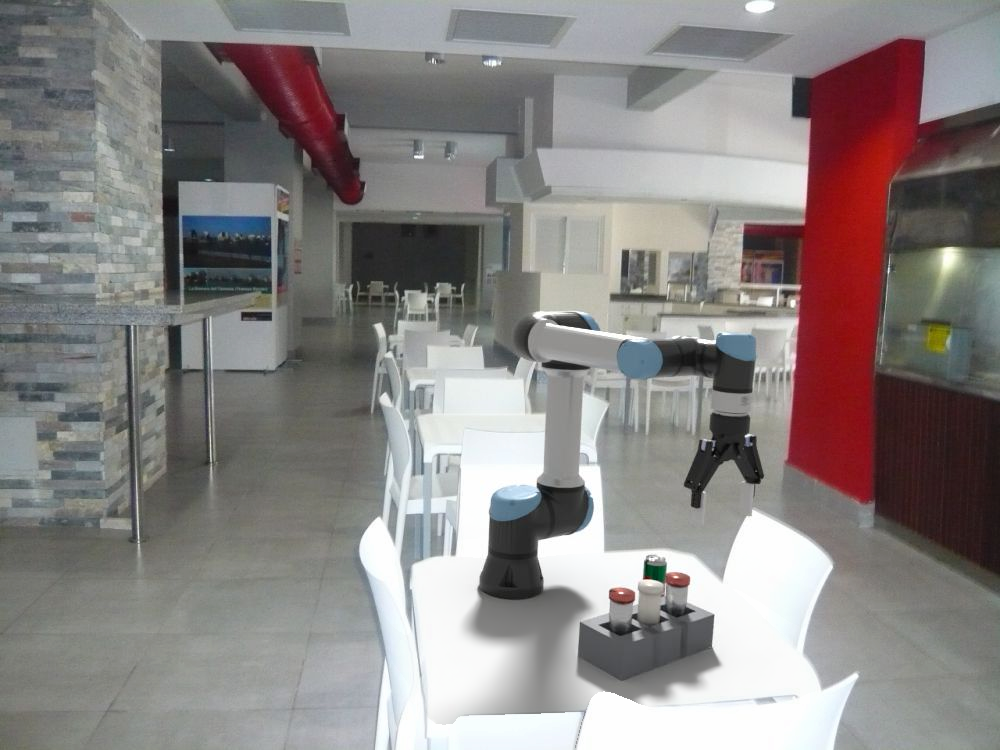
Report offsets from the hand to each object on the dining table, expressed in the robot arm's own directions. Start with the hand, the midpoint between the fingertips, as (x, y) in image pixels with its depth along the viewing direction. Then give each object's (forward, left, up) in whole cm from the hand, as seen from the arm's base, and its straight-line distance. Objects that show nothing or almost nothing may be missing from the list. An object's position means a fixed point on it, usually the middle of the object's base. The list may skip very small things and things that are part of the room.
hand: (721, 519), depth 172 cm
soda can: (-22, +6, -28) cm, 36 cm away
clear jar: (-8, -3, -23) cm, 24 cm away
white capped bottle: (-8, -11, -23) cm, 26 cm away
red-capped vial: (-8, -19, -23) cm, 30 cm away
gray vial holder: (-8, -11, -28) cm, 31 cm away
